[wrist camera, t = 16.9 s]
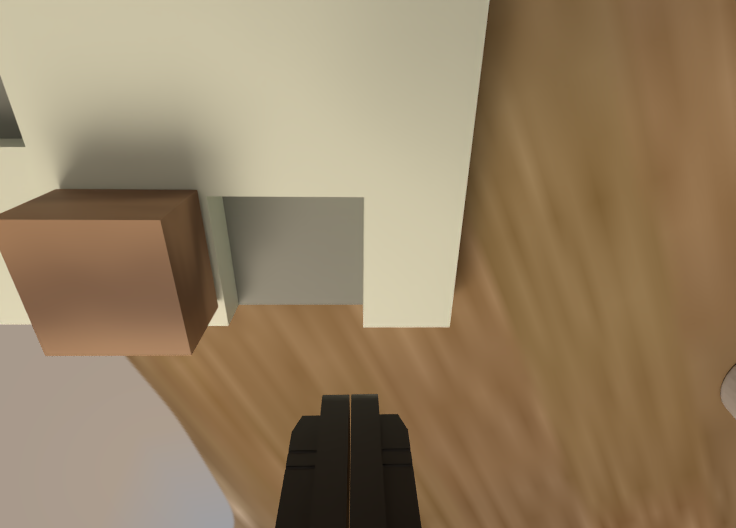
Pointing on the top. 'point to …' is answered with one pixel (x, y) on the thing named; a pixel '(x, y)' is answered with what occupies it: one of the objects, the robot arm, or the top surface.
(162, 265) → the walnut block
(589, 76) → the top surface
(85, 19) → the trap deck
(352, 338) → the top surface
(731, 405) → the coffee cup
